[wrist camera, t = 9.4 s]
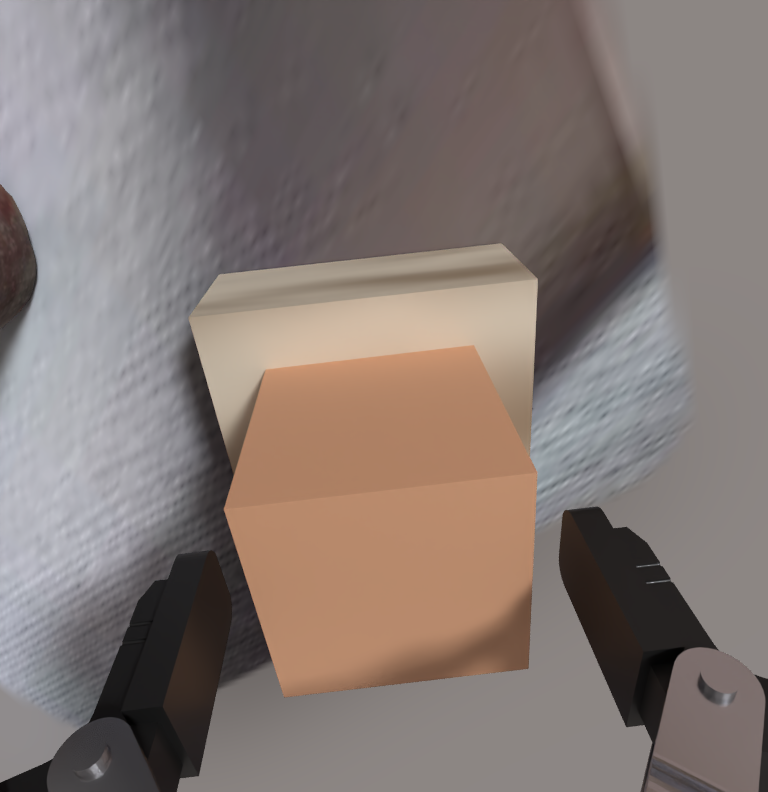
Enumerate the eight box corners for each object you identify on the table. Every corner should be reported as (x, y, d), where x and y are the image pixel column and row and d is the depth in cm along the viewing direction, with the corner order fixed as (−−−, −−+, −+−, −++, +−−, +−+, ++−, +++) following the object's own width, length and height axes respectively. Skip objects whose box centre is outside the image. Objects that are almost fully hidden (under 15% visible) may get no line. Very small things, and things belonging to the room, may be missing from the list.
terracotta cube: (265, 369, 16) (224, 509, 10) (473, 344, 16) (537, 472, 10) (302, 526, 19) (284, 697, 13) (477, 505, 19) (528, 668, 13)
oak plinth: (219, 274, 18) (188, 317, 15) (501, 243, 18) (537, 278, 15) (274, 495, 23) (260, 568, 19) (499, 470, 23) (526, 538, 19)
